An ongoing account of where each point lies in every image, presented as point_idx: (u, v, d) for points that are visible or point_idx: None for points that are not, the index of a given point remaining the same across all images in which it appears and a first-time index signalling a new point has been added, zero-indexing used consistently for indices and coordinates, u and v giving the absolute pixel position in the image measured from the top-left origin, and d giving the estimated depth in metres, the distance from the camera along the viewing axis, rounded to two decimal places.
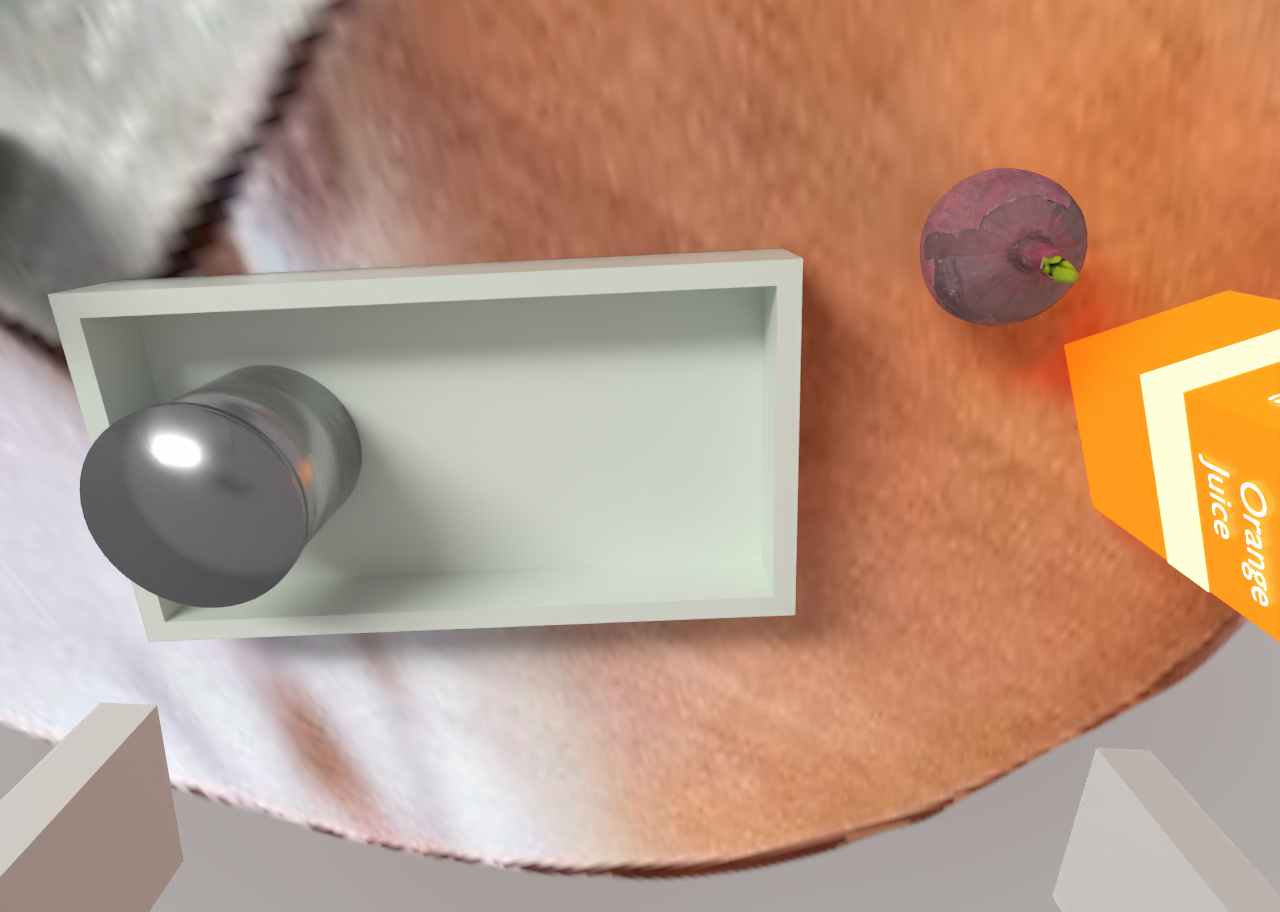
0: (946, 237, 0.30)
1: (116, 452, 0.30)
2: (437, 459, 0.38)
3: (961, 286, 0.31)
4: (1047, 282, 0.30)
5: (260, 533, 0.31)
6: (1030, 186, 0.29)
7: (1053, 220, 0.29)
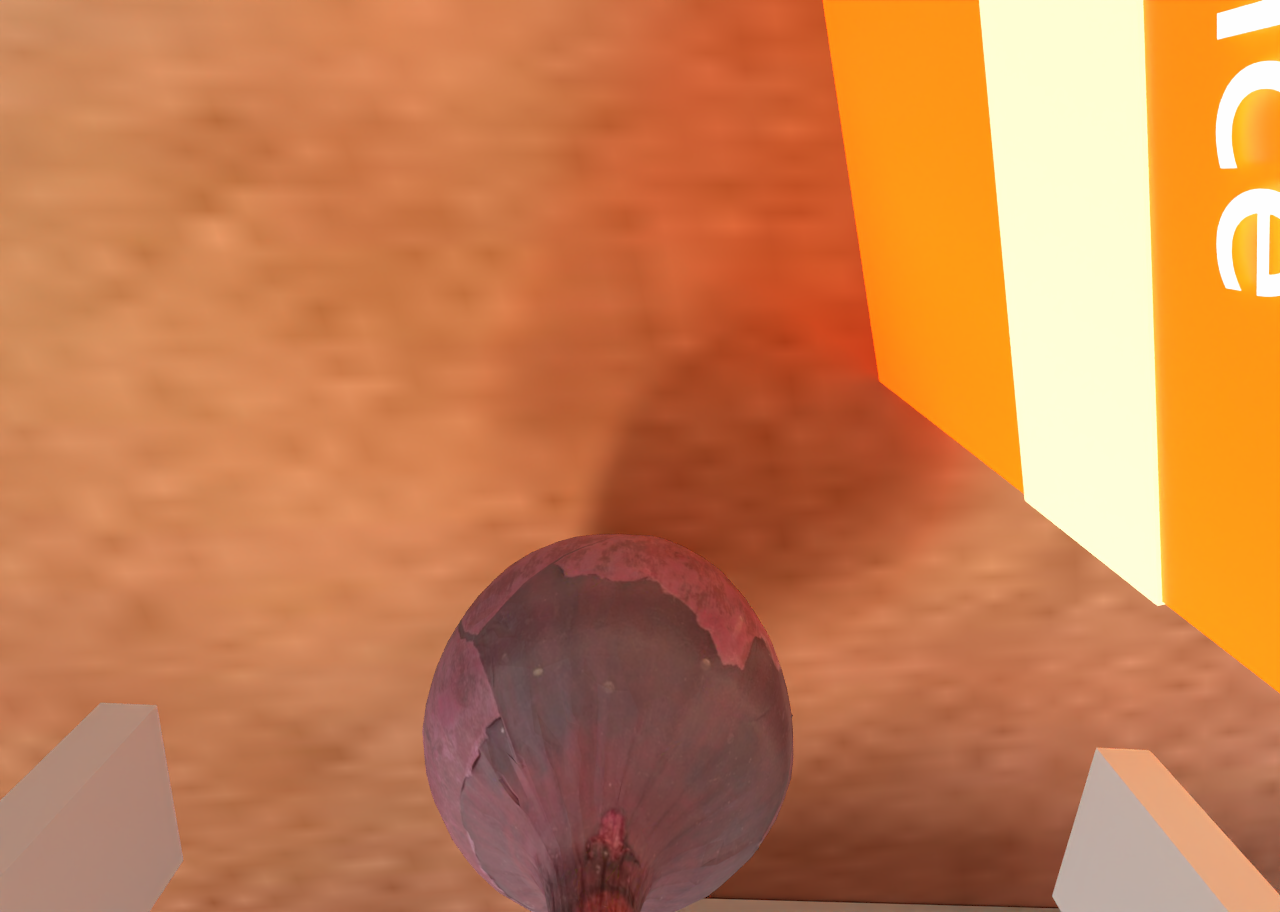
0: None
1: None
2: None
3: None
4: (686, 799, 0.11)
5: None
6: (444, 778, 0.12)
7: (521, 792, 0.11)
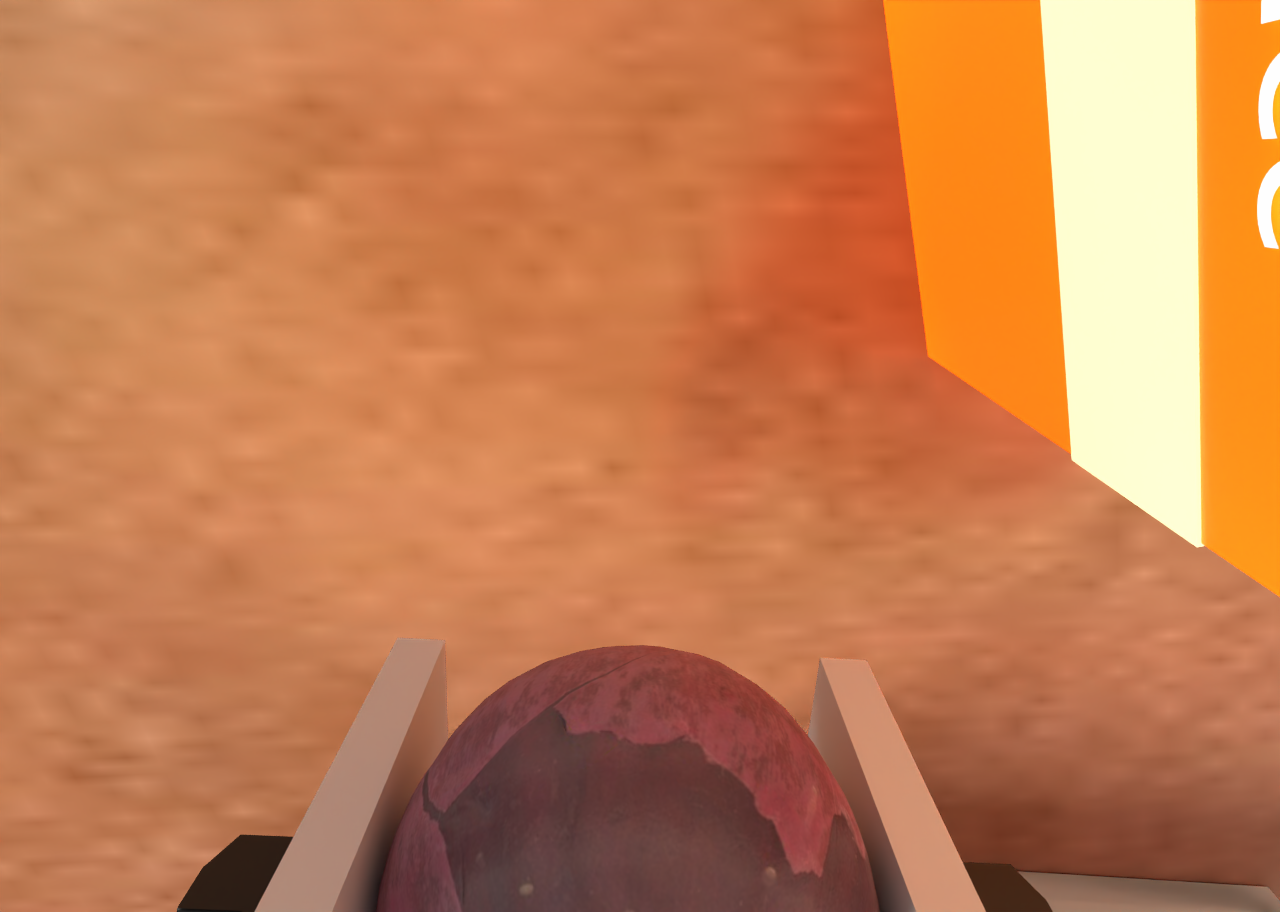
0: None
1: None
2: None
3: None
4: None
5: None
6: None
7: None
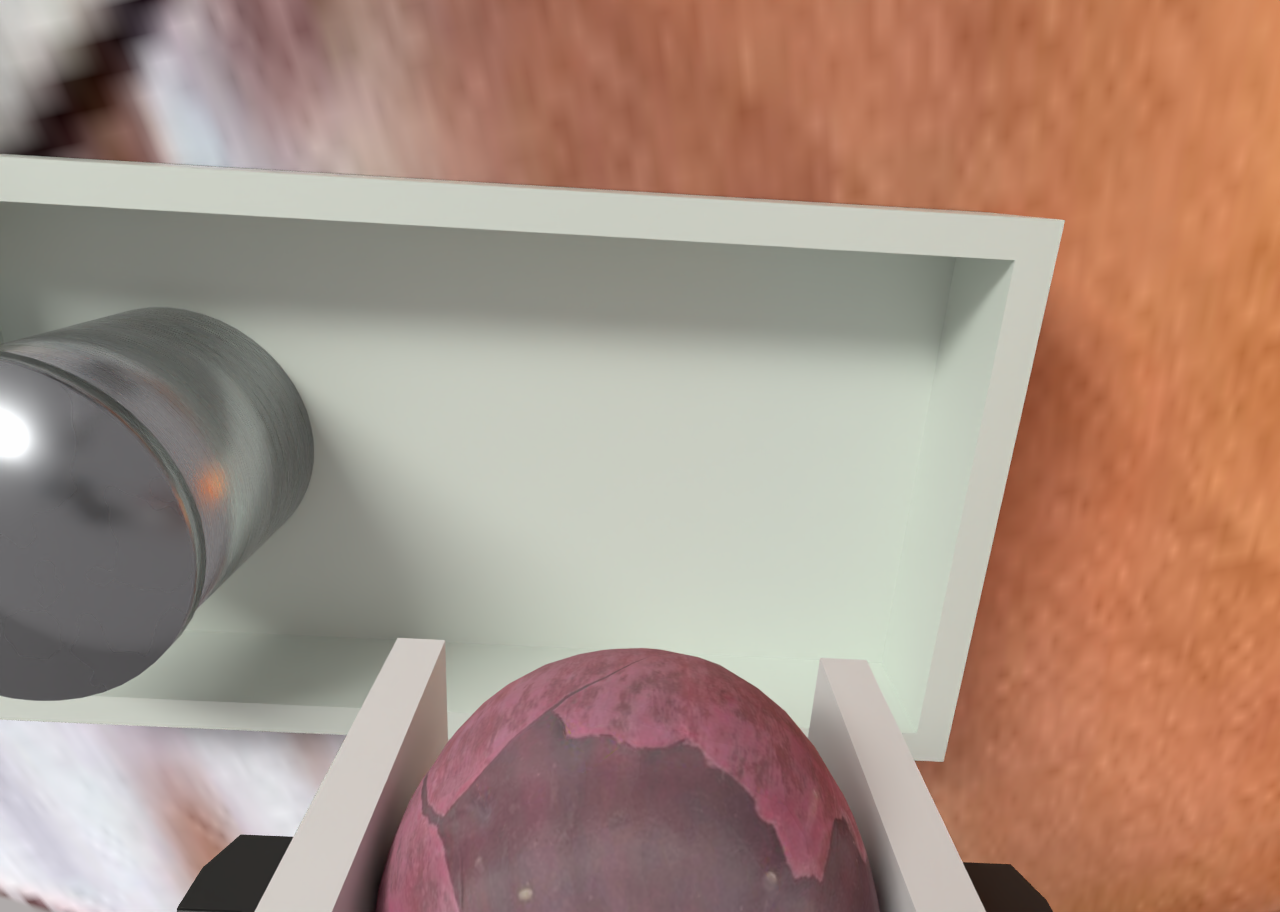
0: None
1: None
2: (427, 476, 0.25)
3: None
4: None
5: (118, 588, 0.18)
6: None
7: None
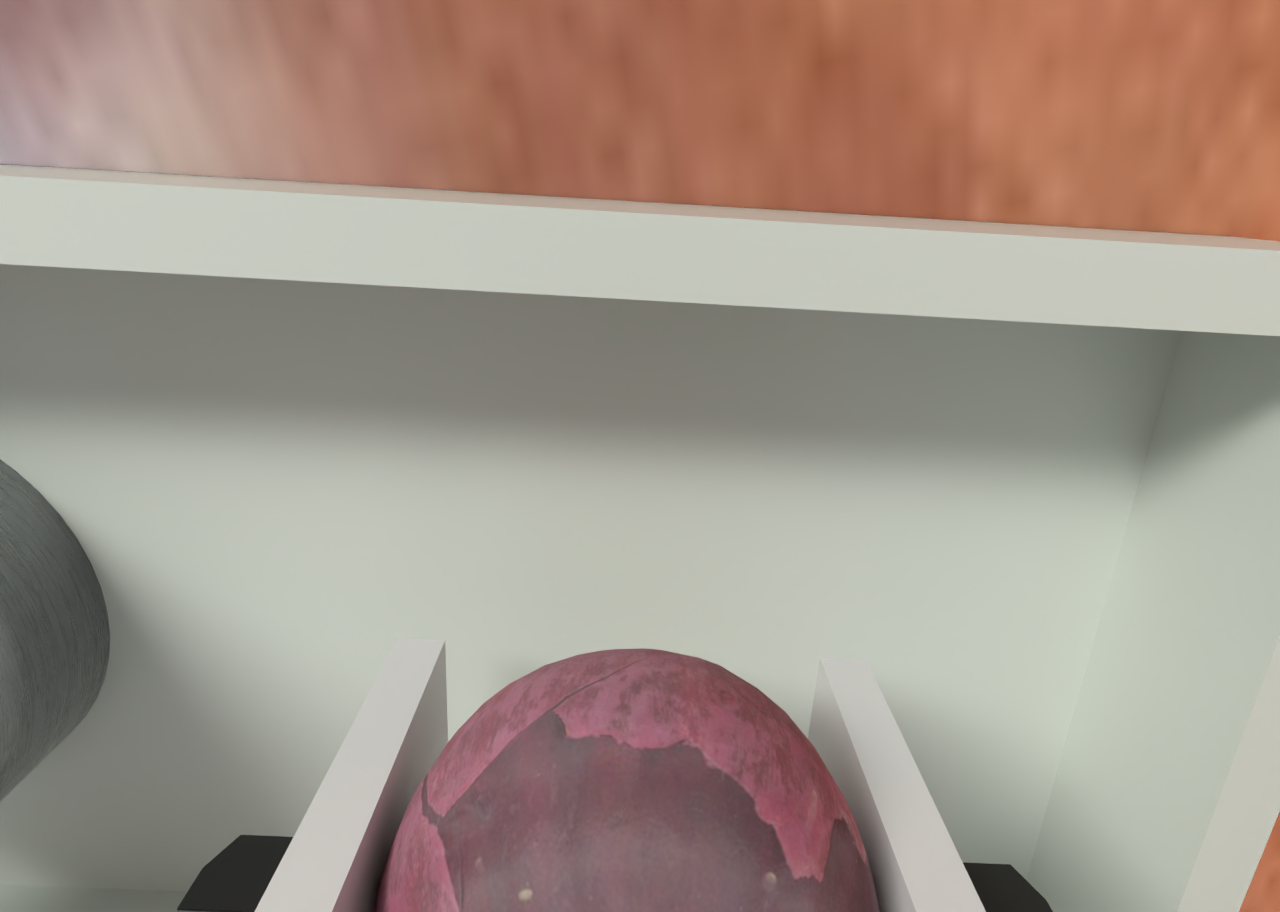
0: None
1: None
2: (297, 662, 0.16)
3: None
4: None
5: None
6: None
7: None
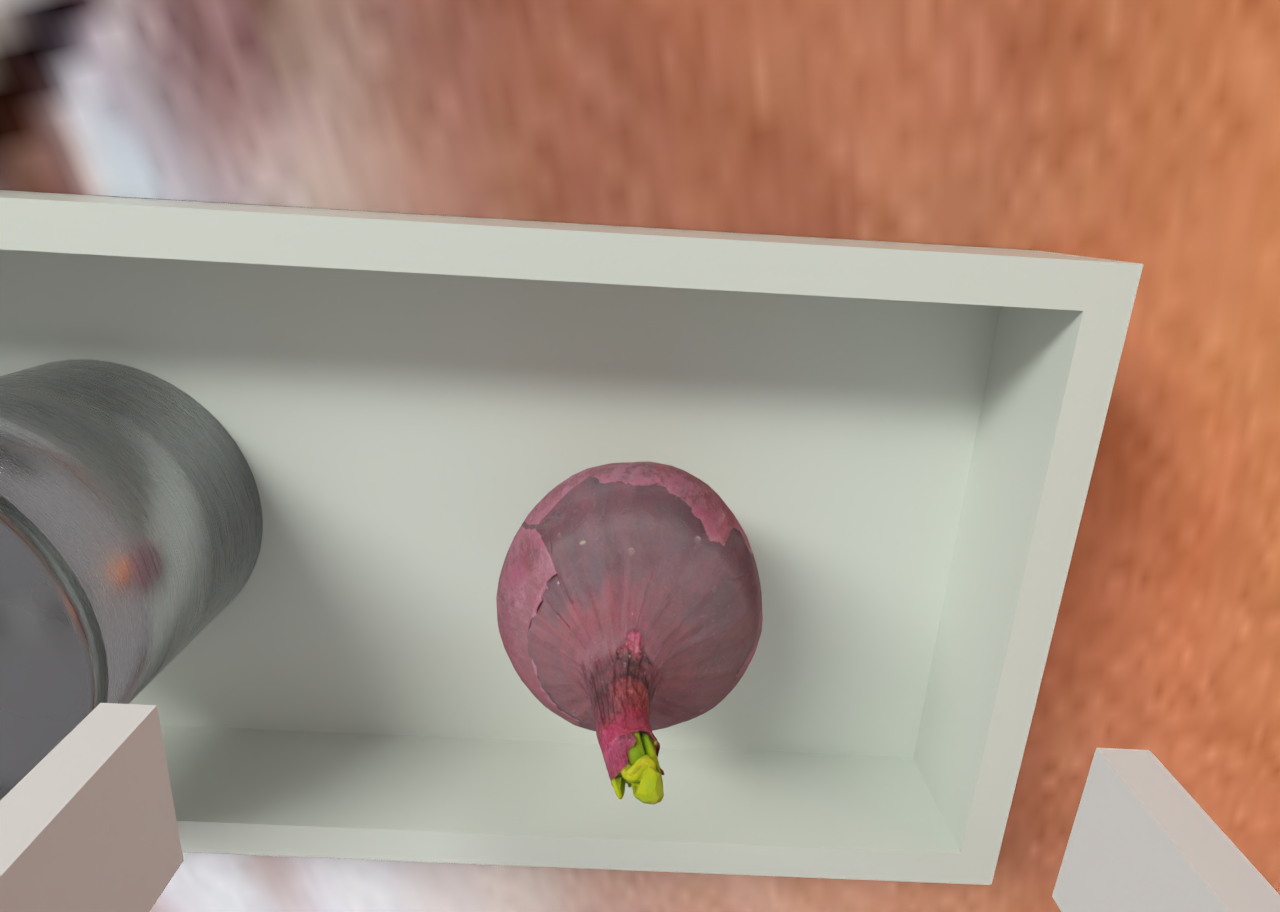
0: None
1: None
2: (393, 550, 0.22)
3: (677, 723, 0.17)
4: (684, 627, 0.15)
5: None
6: (516, 622, 0.16)
7: (570, 622, 0.16)
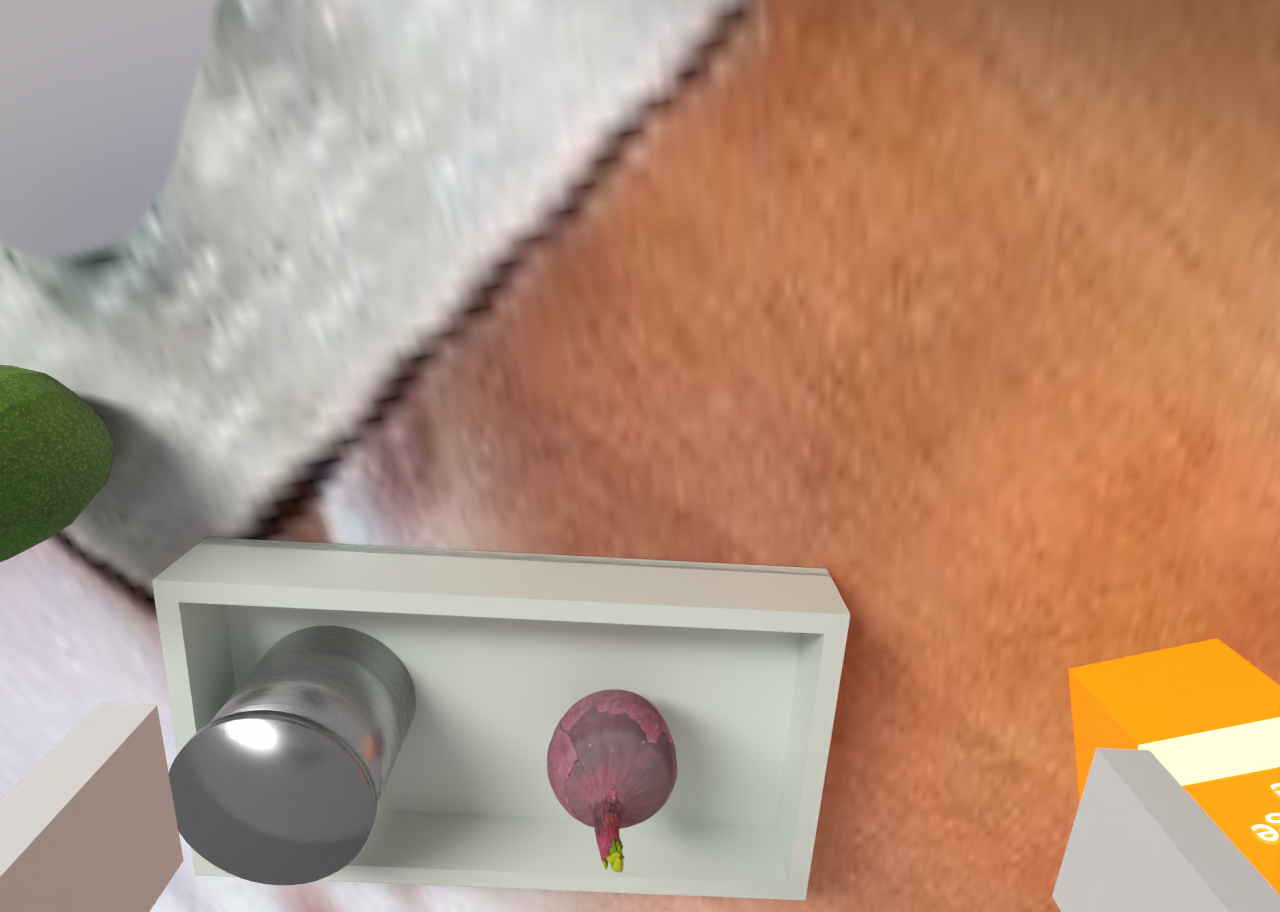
0: None
1: (208, 752, 0.32)
2: (486, 718, 0.40)
3: (635, 824, 0.36)
4: (636, 785, 0.34)
5: (331, 828, 0.33)
6: (558, 779, 0.35)
7: (584, 783, 0.34)
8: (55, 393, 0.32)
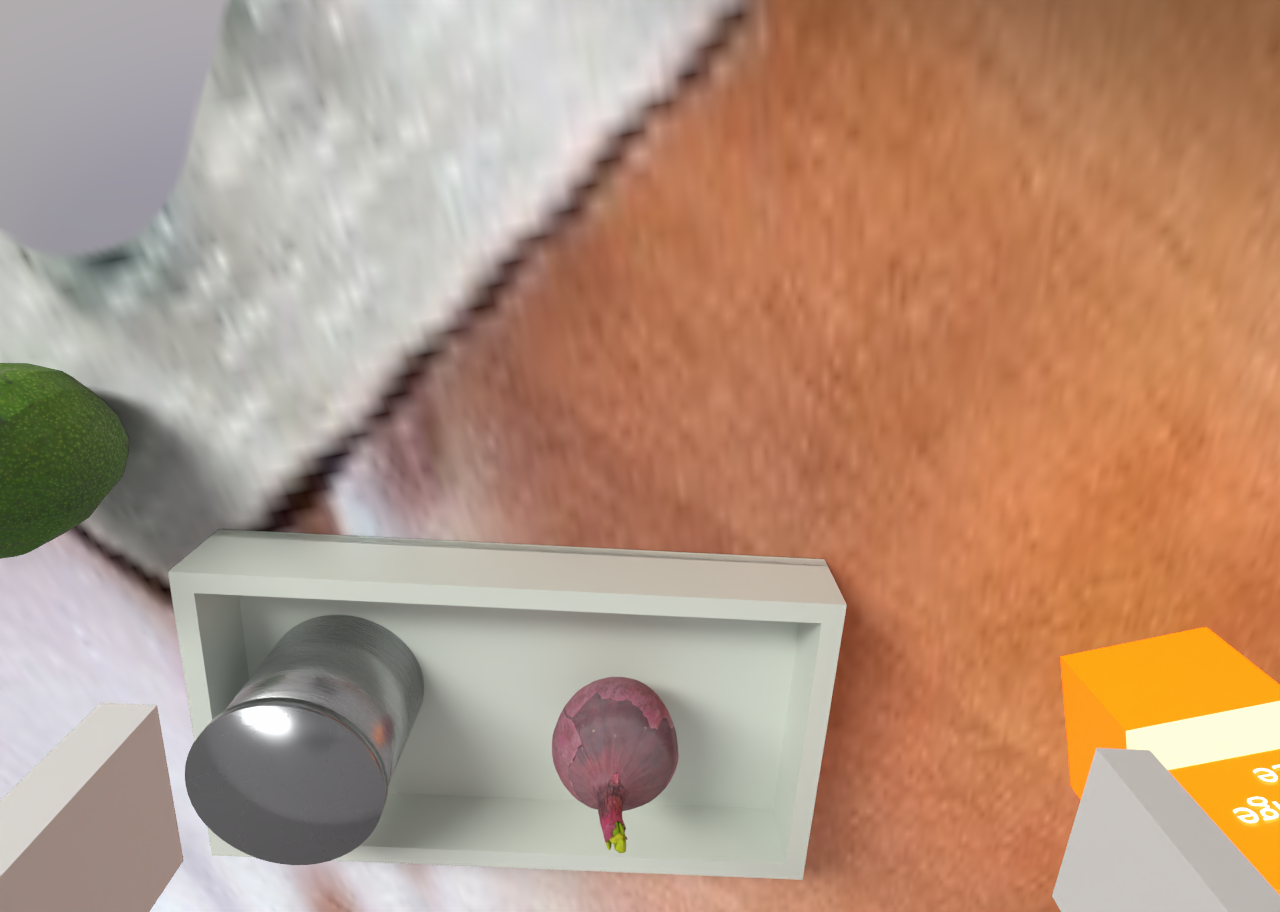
0: None
1: (224, 737, 0.33)
2: (492, 704, 0.42)
3: None
4: (638, 770, 0.35)
5: (343, 810, 0.34)
6: (562, 763, 0.36)
7: (588, 767, 0.35)
8: (72, 390, 0.33)
